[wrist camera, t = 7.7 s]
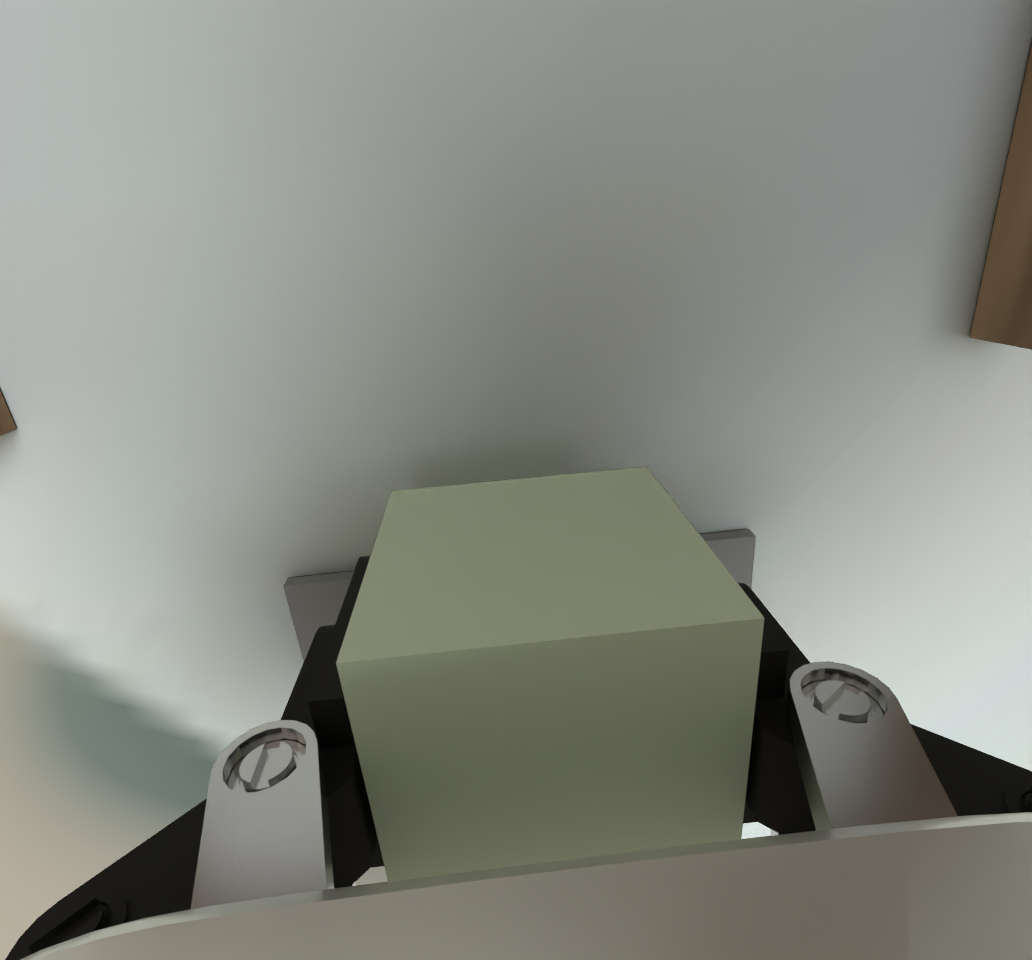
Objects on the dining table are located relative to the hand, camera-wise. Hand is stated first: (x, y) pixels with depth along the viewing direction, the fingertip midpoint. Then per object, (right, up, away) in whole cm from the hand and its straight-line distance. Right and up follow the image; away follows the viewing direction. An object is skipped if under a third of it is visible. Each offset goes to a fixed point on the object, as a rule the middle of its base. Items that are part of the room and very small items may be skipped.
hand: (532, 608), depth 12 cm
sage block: (0, 0, +1) cm, 1 cm away
